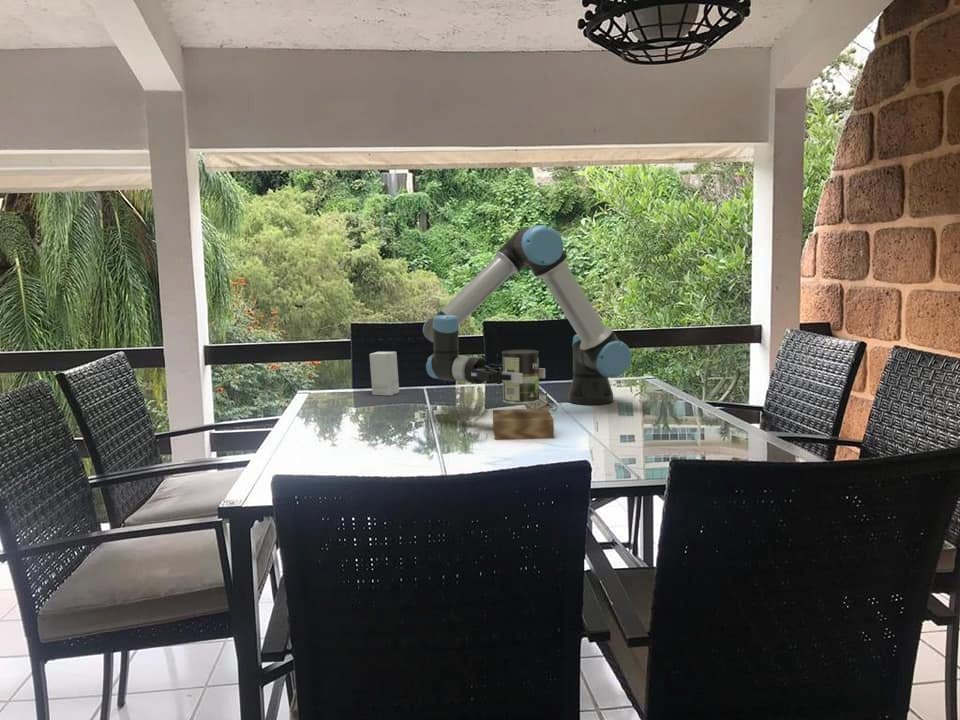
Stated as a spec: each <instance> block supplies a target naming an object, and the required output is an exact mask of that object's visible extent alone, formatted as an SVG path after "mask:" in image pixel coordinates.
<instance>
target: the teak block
mask: <svg viewBox="0 0 960 720" xmlns="http://www.w3.org/2000/svg"><path fill="white" fill-rule="evenodd" d="M554 422H555V421H554V418H553V416H552V414H551V412H550V410H548V408H545V409H527V408H519V409H518V408H516V409H513V408H512V409H493V410H492V427H493V435H494V436H495V437H494V436H493V437H494V440H520V439H521V440H522V439H524V440H527V439H554V436H555V431H554V430H555V429H554V428H555V426H554V425H555V424H554Z"/></svg>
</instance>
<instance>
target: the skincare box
mask: <svg viewBox="0 0 960 720" xmlns="http://www.w3.org/2000/svg"><path fill="white" fill-rule="evenodd" d="M397 356H398V355H397V351H375V352H372V353H369V364H370V366H369V368H370V378H371V391H372V392H371V393H372V396H394V394H395V395H397V394H400V386H399V385H400V383H399V369H398V357H397Z"/></svg>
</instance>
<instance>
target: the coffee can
mask: <svg viewBox="0 0 960 720" xmlns="http://www.w3.org/2000/svg"><path fill="white" fill-rule="evenodd" d="M501 355H502V365H503V372H514V373H523V383H521V384H520V383H511V382H502V392H503V393H502V394H503V396H502V398H503V399H502V402H503V403H505V404H510V405H523V404H533V403H537V402H539V394H540V378H539V368H540V367H539V366H540V365H539V364H540V363H539V362H540V359H539V358H540V357H539V356H540V351H539V350H535V349H509V350H507V349H506V350H503V351H502V352H501Z"/></svg>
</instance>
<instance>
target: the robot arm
mask: <svg viewBox="0 0 960 720" xmlns="http://www.w3.org/2000/svg"><path fill="white" fill-rule="evenodd" d="M567 261H568V255H567V254H566V252H565V250H564V240H563V238H562V236H561V234H560V233H559V232H558V231H557V230H556V229H555V228H553V227H552V226H551V227H550V226H547V225H543V224H541V225H539V224H538V225H533V226H527V227H523V228H520V229H519V230H517V231H516V232H515V233H513V235H511V237H509V239H508V240H507V241H506V242H505V243H504V244H503V245H502V246H501V247H500V248H499V249H498V250H497V251H496V253H495V258H493V260H491V261H490V263H488V264H487V265H486V266H485V267H484V268H483V269H482V270H481V271H480V272H479V273H478V274H477V275H476V276H475V277H474V278H473V279H472V280H471V281H470V282H468V283H467V284H466V286H464V288H462V289H461V290H460V291H459V292H458V293H457V295H455V296H454V297H453V298H452V299H451V300H450V301H449V302H448V303H447V304H445V306H444V307H443V308H442V309H440V311H439V312H438V313H437V314H436V315H434V316H433V317H431V318H429V319H427V320H426V321H425V322H424V324H423V327H422V333H423V336H424V337H425V338H426V340H427V341H429V342H430V343H433V354H431V355H430V356H428V358H427V362H426V363H425V369H426V372H427V374H428V376H429V377H431V378H432V379H438V380H440V381H451V382H452V381H453V382H462V384H463V385H465V384H466V383H470V384H471V383H472V384H478V385H479V384H483V383H484V382H490V383H495V382H496V384H497V385H502V383H503V382H511V383H520V384H521V383H523V373H514V372H503V364H500V363H499V364H495V363H490V364H489V363H488V362H487V359H485V358H483V357H476V356H475V357H474V356H473V357H472V356H466V355H463V356H462V355H460V354H459V353H460V352H459V351H460V350H459V349H460V348H459V329H460V328H459V327H460V325H462V323H464V321H466V320H467V319H468V317H470V316H471V315H472V314H473V313H474V312H475V311H476V310H477V309H478V308H479V307H480V306H481V305H482V304H483V303H484V302H485V301H486V300H487V299H488V298H490V296H491V295H492V294H493V293H495V292H496V291H497V289H499V288H500V287H501V286H502V285H503V284H504V283H505V282H506V281H507V280H508V279H509V278H510V277H511V276H512V275H518V274H519V273H520V272H521V271H522V270H524V269H525V268H526V267H529V269H530V271H531V272H532V274H533V276H535V278H540V279H542V280H543V282H544V284H545V285H546V286H547V289H548V290H549V292H550V293H551V294H552V296H553V298H554V300H555V301H556V302H557V304H558V306H559V307H560V309H561V311H562V312H563V314H564V316H565V317H566V318H567V320H568V322H569V324H570V326H571V327H572V328H573V330H574V331H575V333H576V334H574V335H573V338H572V344H571V346H572V372H573V373H572V374H573V375H572V376H573V377H572V382H571V385H570V388H569V390H568V395H567V399H568V402H569V403H571V404H576V405H581V406H582V405H584V406H585V405H587V406H592V405H593V406H597V405H607V404H611V403H613V402H614V393H613V389H612V387H611V384H610V380H609V378H617V377H620V376H621V375H623V374H625V373H626V371H628V369H629V368H630V366H631V361H632V352H631V350H630V346H628V345H627V344H626V343H624V341H621V340H619V338H618V337H617V335H616V333H615V332H614V330H613V328H611V327H609V326H605V325H604V323H603V322H602V319H601V318H600V316H599V315H598V313H597V312H596V309H595V308H594V307H593V305H592V303H591V302H590V300H589V299H588V297H587V296H586V294H585V292H584V290H583V289H582V287H581V286H580V284H579V282H578V281H577V279H576V277H575V276H574V274H573V272H572V271H571V269H570V268H569V266H568V265H567ZM539 379H546V368H541V367H539Z"/></svg>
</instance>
